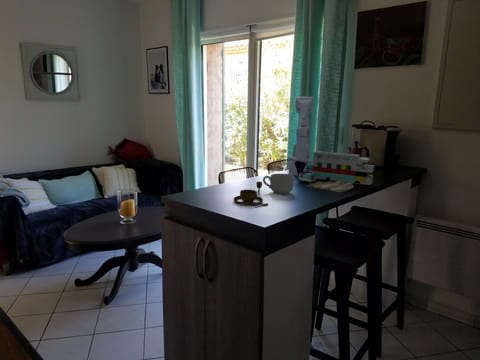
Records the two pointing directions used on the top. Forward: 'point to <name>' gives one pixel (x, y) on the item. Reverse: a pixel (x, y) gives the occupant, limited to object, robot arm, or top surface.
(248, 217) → the top surface
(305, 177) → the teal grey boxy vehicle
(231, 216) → the top surface
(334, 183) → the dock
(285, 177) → the teacup
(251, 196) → the place setting
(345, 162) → the toy vehicle
